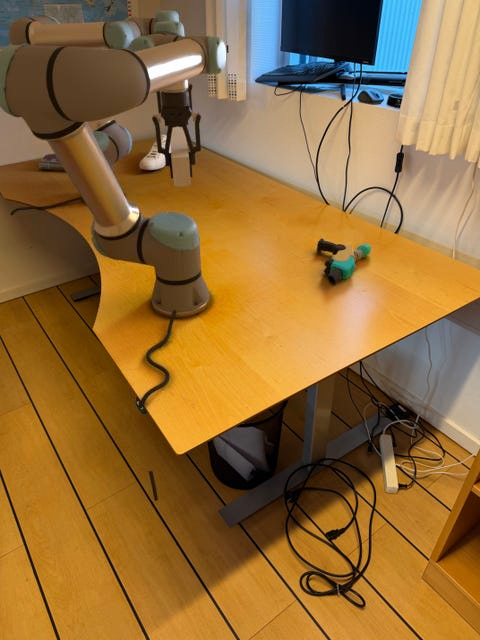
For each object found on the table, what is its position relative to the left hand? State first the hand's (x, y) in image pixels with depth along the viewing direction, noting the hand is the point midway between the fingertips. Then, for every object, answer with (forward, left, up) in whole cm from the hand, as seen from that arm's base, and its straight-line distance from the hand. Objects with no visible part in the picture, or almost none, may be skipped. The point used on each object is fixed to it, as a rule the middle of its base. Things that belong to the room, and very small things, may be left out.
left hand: (177, 134), depth 177 cm
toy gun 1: (-57, +34, -22) cm, 70 cm away
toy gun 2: (+49, -63, -22) cm, 83 cm away
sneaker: (-13, +35, -22) cm, 43 cm away
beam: (+2, -23, -1) cm, 23 cm away
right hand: (+5, -45, 0) cm, 46 cm away
